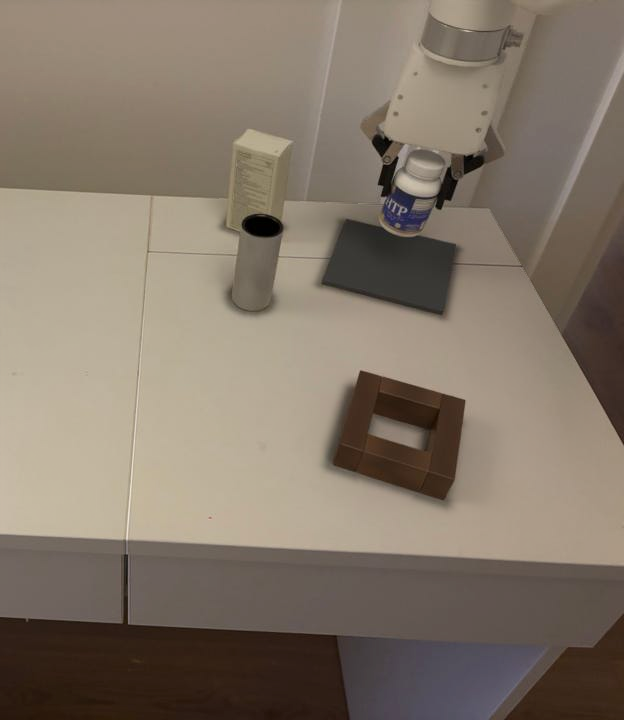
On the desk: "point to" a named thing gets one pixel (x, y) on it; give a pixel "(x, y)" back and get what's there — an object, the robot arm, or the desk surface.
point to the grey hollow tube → (256, 261)
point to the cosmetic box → (257, 176)
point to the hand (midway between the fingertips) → (412, 195)
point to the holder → (394, 459)
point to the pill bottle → (412, 194)
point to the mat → (391, 266)
